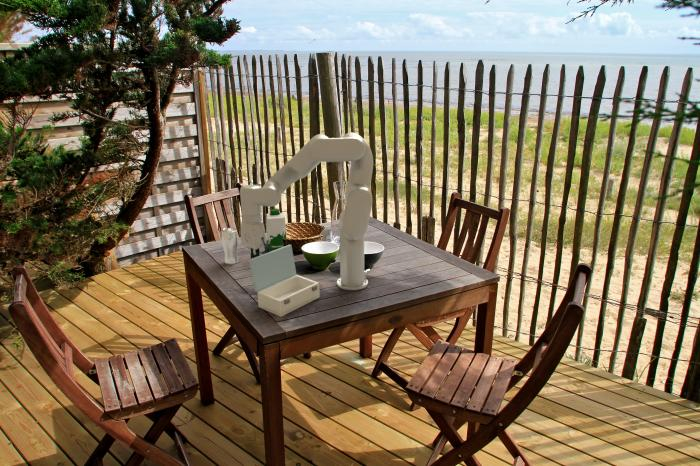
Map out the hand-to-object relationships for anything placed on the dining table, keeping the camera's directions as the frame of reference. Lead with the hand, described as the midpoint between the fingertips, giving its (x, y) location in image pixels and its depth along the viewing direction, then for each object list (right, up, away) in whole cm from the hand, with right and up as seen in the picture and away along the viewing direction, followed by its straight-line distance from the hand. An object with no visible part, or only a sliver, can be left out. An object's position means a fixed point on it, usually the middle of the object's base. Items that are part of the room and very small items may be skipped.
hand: (255, 262), depth 204 cm
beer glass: (-16, -2, +30) cm, 34 cm away
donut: (+27, +4, +46) cm, 54 cm away
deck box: (+14, -14, -8) cm, 21 cm away
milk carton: (+3, +2, +41) cm, 41 cm away
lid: (+8, -1, -7) cm, 11 cm away
